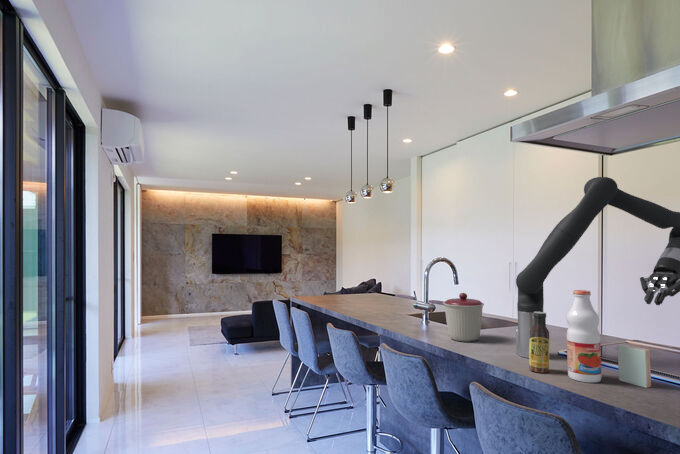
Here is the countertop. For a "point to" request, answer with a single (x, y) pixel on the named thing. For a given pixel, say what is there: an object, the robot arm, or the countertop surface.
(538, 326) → the sauce bottle
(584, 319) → the fruit juice
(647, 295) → the robot arm
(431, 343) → the countertop surface
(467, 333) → the canister
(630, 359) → the pale green flat block
